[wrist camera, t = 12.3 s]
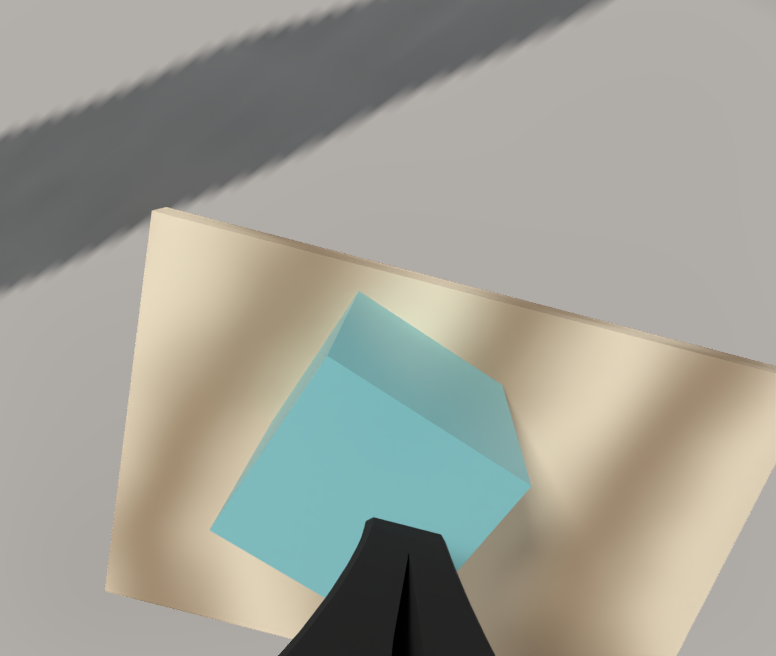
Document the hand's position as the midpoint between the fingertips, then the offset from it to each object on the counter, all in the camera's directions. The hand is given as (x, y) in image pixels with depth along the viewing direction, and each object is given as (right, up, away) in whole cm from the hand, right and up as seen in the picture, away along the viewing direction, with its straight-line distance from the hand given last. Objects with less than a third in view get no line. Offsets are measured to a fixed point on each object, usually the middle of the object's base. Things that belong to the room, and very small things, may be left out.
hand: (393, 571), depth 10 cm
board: (+1, -1, +10) cm, 10 cm away
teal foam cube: (0, +2, +8) cm, 8 cm away
